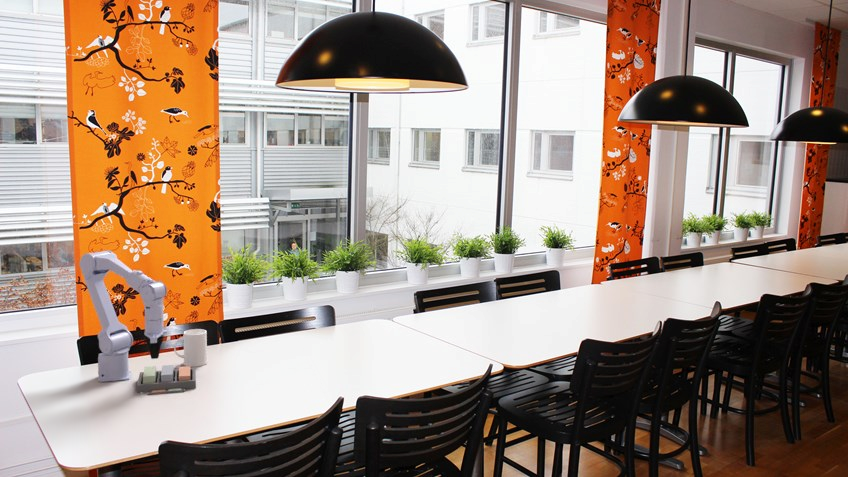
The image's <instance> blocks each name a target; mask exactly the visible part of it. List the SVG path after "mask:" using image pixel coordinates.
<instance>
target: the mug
mask: <svg viewBox="0 0 848 477" xmlns="http://www.w3.org/2000/svg"><path fill="white" fill-rule="evenodd" d="M207 335H208V333H207V330H206V329H203V328H194V329H187V330H184V332H183V336H180V337H179V338H178V339H177V340H176V341H175V343H174V346H173V349H174V351H173V352H174V353H175V355H177V356H178V358H181V359H183V366H184V367H186V366H190V368H196V367H202V366H204V365H207V364H208V362H209V361H208V344H207V343H208V342H207V341H208V339H207V338H208V336H207ZM180 341H183V354H181V353H178V351H177V349H176V347H177V344H179V342H180Z"/></svg>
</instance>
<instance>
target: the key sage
mask: <svg viewBox="0 0 848 477" xmlns="http://www.w3.org/2000/svg"><path fill="white" fill-rule="evenodd" d="M156 371H157V365H154V366H144V368H143V372H144V373H143V383H142V384H149V383H157V379H156Z"/></svg>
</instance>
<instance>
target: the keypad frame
mask: <svg viewBox="0 0 848 477" xmlns="http://www.w3.org/2000/svg"><path fill="white" fill-rule="evenodd" d="M196 369H197V368H196V367H190V378H191V377H192V379H190V380H186V381H179V380H178V379H179V368H178V369H173V372H174V375H173V379H174V380H173V382H161V371H162V370H156V382H155V383H149V384H143V373H144V371H141V372H139V374H138V380H137V383H136V384H137V385H136V393H137V394H145V393H149V391H152V390H164V389H165V390H168V389H176V388H185V390H191V389H196V388H197V382H196V381H197V380H196V378H197V375H196Z"/></svg>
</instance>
